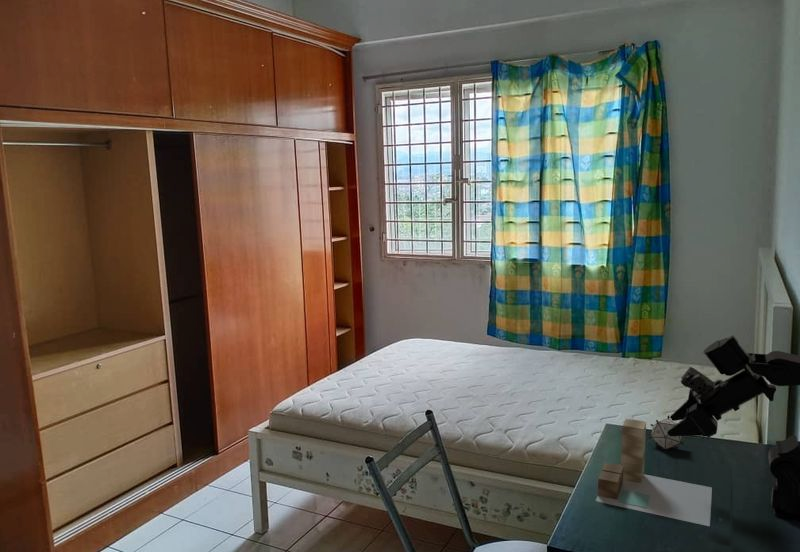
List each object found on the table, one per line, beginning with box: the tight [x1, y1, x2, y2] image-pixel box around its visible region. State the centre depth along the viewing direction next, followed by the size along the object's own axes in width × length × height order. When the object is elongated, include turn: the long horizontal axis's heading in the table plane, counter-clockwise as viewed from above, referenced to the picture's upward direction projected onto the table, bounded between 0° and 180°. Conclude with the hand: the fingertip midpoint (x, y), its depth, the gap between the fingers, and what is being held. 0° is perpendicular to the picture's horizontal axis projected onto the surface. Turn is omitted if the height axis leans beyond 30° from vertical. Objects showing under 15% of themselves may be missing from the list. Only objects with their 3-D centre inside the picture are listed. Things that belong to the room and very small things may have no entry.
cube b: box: [601, 461, 624, 489], centre depth 140 cm, size 4×4×4 cm
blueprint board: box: [595, 473, 713, 527], centre depth 136 cm, size 22×17×1 cm
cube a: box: [597, 470, 621, 500], centre depth 136 cm, size 4×4×4 cm
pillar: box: [620, 418, 647, 483], centre depth 142 cm, size 4×4×13 cm
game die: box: [647, 415, 685, 450], centre depth 159 cm, size 9×8×10 cm
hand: (669, 426), depth 138 cm, fingers open, 9 cm apart
